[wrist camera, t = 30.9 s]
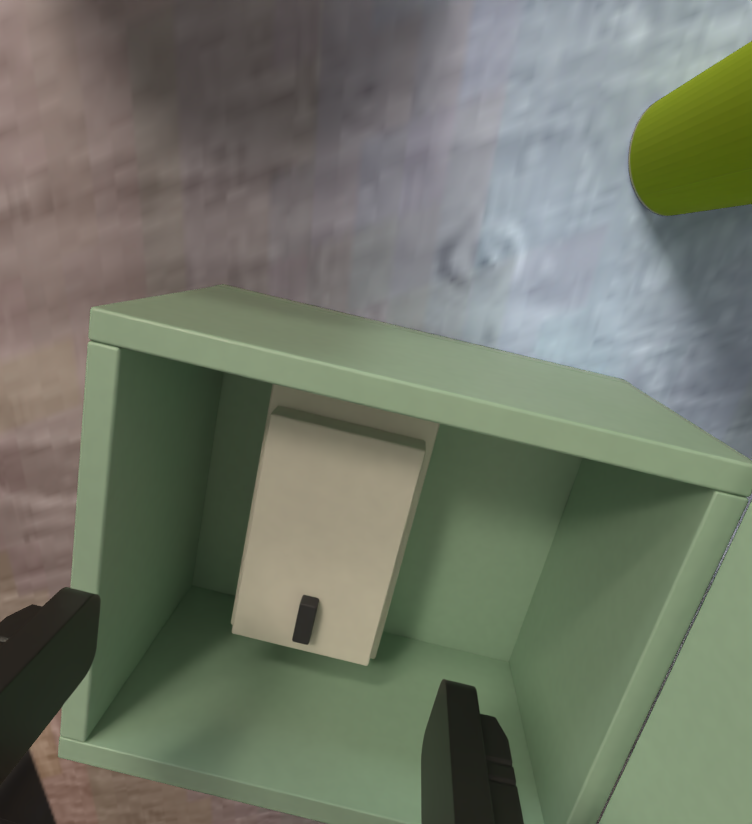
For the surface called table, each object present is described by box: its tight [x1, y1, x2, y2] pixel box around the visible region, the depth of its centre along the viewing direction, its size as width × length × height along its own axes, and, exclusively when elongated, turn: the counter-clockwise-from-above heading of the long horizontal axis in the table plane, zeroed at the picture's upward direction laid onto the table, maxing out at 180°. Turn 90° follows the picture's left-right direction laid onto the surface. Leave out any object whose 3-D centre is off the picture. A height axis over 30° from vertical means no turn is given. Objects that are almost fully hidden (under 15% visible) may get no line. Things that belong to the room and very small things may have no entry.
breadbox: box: [58, 284, 752, 824], centre depth 18 cm, size 16×14×9 cm
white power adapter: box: [231, 384, 440, 666], centre depth 20 cm, size 10×6×4 cm, turn 167°
